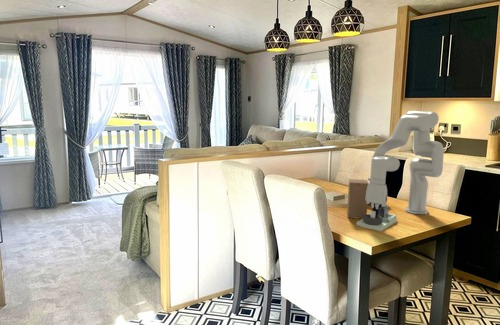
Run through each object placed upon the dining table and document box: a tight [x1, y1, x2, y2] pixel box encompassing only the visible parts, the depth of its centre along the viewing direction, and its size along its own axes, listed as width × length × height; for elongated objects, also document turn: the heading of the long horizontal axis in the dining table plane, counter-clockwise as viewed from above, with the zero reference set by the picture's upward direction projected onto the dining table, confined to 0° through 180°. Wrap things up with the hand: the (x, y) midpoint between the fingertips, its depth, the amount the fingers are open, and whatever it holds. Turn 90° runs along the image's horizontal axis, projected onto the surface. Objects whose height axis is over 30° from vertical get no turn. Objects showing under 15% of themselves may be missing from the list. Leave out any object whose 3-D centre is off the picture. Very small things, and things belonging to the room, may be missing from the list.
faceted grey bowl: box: [362, 215, 383, 225], centre depth 199 cm, size 9×9×2 cm
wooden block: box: [346, 178, 369, 219], centre depth 216 cm, size 10×10×20 cm
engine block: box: [378, 206, 390, 218], centre depth 207 cm, size 6×5×7 cm
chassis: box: [356, 210, 398, 232], centre depth 203 cm, size 22×13×8 cm, turn 139°
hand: (375, 215), depth 201 cm, fingers closed
